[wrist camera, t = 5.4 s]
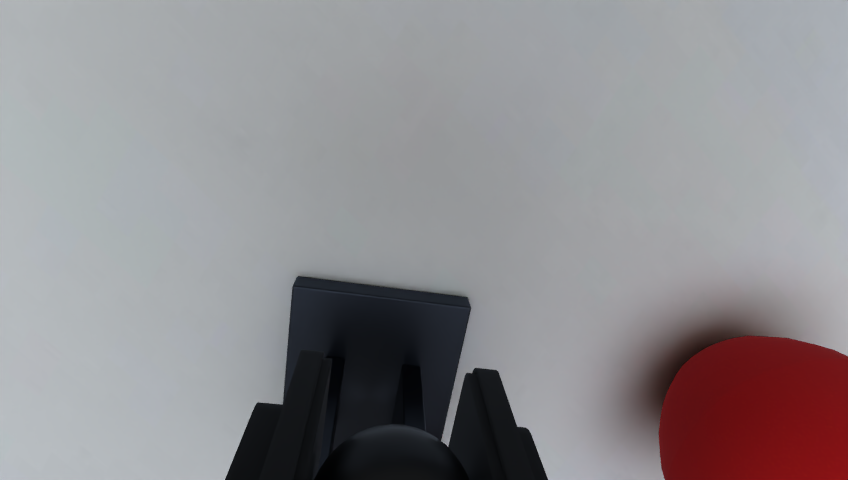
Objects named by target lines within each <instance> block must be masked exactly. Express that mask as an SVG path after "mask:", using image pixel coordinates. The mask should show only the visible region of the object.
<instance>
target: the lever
mask: <svg viewBox="0 0 848 480" xmlns="http://www.w3.org/2000/svg"><path fill="white" fill-rule="evenodd" d="M314 480H469V477H468V475H467V473H466V471H465V469H464V467H463V466H462V464H461V462H460V461H459V460H458V458H457V457H456V455H455V454H454V453H453V452H452V451H451V450H450V449H449V448H448V447H447V446H446V445H445V444H444V443H443V442H442V441H440V440H439V439H438V438H436V437H435V436H433V435H432V434H430V433H428V432H426V431H424V430H421V429H419V428H416V427H412V426H407V425H401V424H387V425H379V426H374V427H371V428H368V429H365V430H363V431H360V432H358V433H356V434H355V435H353V436H351V437H350V438H348V439H347V440H345V441H344V442H343V443H342V444H340V445H339V446H338V447H337V448H336V449H335V450H334V451H333V452H332V453H331V454H330V455H329V456H328V458H327V459H326V460H325V462H324V463H323V465H322V466H321V468H320V469H319V471H318V473H317V475H316V476H315V478H314Z"/></svg>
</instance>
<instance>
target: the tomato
mask: <svg viewBox="0 0 848 480" xmlns="http://www.w3.org/2000/svg"><path fill="white" fill-rule="evenodd" d="M659 445H660V458H661V467H662V471H663V475H664V478H665V480H848V356H846V355H844V354H841V353H839V352H837V351H835V350H832V349H828V348H825V347H822V346H818V345H815V344H810V343H806V342H802V341H798V340H793V339H789V338H779V337H763V336H743V337H736V338H731V339H728V340H724V341H721V342H718V343H715V344H713V345H711V346H709V347H707V348H705V349H703V350H701V351H700V352H698V353H697V354H695V355H694V356H692V357H691V358H690V359H689V360H688V361H687V362H686V363H684V364H683V365H682V367H681V368H680V369H679V371H678V372H677V373H676V375H675V377H674V379H673V381H672V383H671V385H670V387H669V389H668V391H667V393H666V396H665V399H664V402H663V405H662V412H661V418H660V426H659Z"/></svg>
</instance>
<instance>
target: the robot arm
mask: <svg viewBox="0 0 848 480" xmlns="http://www.w3.org/2000/svg"><path fill="white" fill-rule="evenodd" d="M331 366H332V359H330V358H324V352H322V351H313V350H304V349H302V350H301V351H300V354H299V358H298V361H297V364H296V367H295V370H294V373H293V376H292V379H291V382H290V385H289V388H288V392H287V395H286V398H285V401H284V404H283V405H280V404H269V403H259V402H258V403H257V404H256V405H255V407H254V410H253V412H252V414H251V417H250V419H249V422H248V424H247V427H246V429H245V432H244V434H243V437H242V439H241V442H240V444H239V447H238V449H237V451H236V454H235V456H234V459H233V461H232V464H231V466H230V469H229V471H228V474H227V476H226V479H225V480H314V478H315V476H316V475H317V472H318V467H319V461H320V455H321V448H322V440H323V432H324V424H325V415H326V407H327V399H328V391H329V382H330V374H331ZM448 448H449V449H450V450H451V451H452V452H453V453H454V454H455V455H456V457H457V458H458V460H459V461H460V462H461V464H462V466H463V467H464V469H465V471H466V473H467V475H468V477H469V480H548V479H547V476H546V473H545V470H544V468H543V465H542V462H541V460H540V457H539V454H538V452H537V449H536V446H535V444H534V441H533V438H532V436H531V433H530V431H529V430H528V429H527V428H523V427H517V425H516V422H515V419H514V416H513V413H512V410H511V407H510V405H509V402H508V399H507V396H506V393H505V390H504V387H503V384H502V381H501V378H500V375H499V373H498V371H497V370H489V369H480V368H475V369H474V370H473V373H472V374H471V373H466V375H465V378H464V382H463V386H462V390H461V395H460V399H459V403H458V408H457V412H456V416H455V421H454V425H453V429H452V434H451V438H450V442H449V447H448Z"/></svg>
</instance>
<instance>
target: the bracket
mask: <svg viewBox="0 0 848 480" xmlns="http://www.w3.org/2000/svg"><path fill="white" fill-rule="evenodd" d="M470 311H471V307H470V303H469V300H468V298H467V297H460V296H452V295H444V294H436V293H428V292H419V291H411V290H403V289H395V288H387V287H379V286H371V285H363V284H355V283H347V282H339V281H331V280H323V279H315V278H307V277H299V276H298V277H297V278H296V280H295V282H294V285H293V288H292V300H291V312H290V324H289V337H288V349H287V361H286V373H285V386H284V398H283V404H284V401H285V398H286V395H287V392H288V388H289V385H290V382H291V379H292V376H293V373H294V370H295V367H296V364H297V361H298V358H299V354H300V351H301V350H302V349H304V350H313V351H322V352H324V358H330V359H332V366H331V374H330V382H329V391H328V399H327V407H326V415H325V424H324V432H323V440H322V448H321V455H320V461H319V467H318V471H319V469H320V468H321V466H322V465H323V463H324V462H325V460H326V459H327V458H328V456H329V455H330V454H331V453H332V452H333V451H334V450H335V449H336V448H337V447H338V446H339V445H340V444H342V443H343V442H344V441H345V440H347V439H348V438H350V437H351V436H353V435H355V434H356V433H358V432H360V431H363V430H365V429H368V428H371V427H374V426H379V425H387V424H401V425H407V426H412V427H416V428H419V429H421V430H424V431H426V432H428V433H430V434H432V435H433V436H435V437H436V438H438V439H439V440H440V441H441V439H442V434H443V430H444V425H445V421H446V417H447V412H448V408H449V403H450V399H451V395H452V390H453V386H454V381H455V377H456V372H457V368H458V364H459V359H460V355H461V350H462V346H463V341H464V337H465V333H466V328H467V324H468V319H469V315H470ZM317 473H318V472H317Z"/></svg>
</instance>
